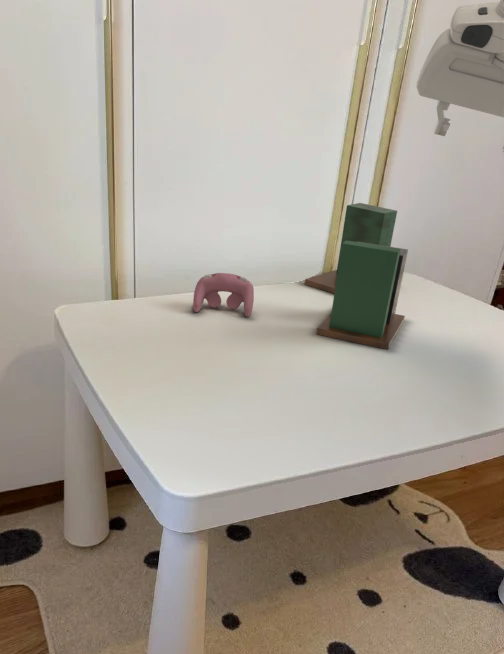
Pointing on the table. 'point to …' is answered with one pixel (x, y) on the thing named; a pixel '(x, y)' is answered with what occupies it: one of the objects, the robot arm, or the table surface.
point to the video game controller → (226, 283)
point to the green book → (364, 288)
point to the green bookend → (359, 236)
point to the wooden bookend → (392, 320)
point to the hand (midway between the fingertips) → (473, 142)
